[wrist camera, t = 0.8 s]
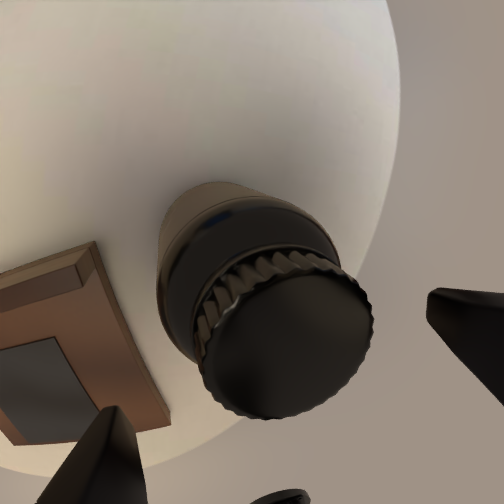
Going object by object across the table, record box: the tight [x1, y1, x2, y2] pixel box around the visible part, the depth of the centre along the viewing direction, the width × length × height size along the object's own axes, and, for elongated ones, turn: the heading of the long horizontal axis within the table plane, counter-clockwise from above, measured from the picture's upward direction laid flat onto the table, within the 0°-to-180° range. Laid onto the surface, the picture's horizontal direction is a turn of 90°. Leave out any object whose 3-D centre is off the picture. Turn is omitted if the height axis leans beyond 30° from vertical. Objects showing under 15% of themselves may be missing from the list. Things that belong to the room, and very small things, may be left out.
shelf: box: [0, 241, 171, 446], centre depth 15 cm, size 14×16×4 cm
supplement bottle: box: [156, 182, 374, 420], centre depth 13 cm, size 7×7×12 cm
